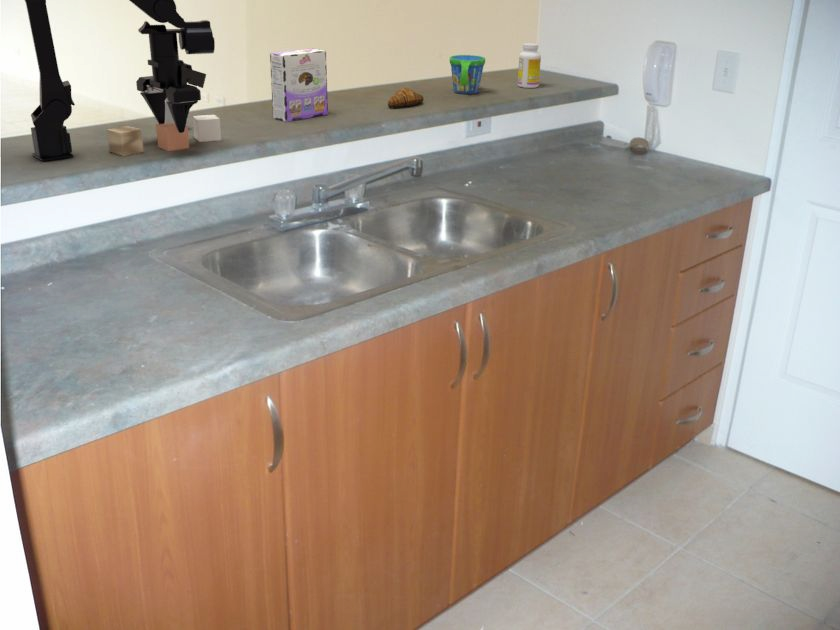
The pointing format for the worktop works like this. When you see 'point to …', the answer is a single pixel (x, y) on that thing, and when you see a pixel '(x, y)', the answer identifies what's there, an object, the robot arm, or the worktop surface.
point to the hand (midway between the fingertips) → (171, 128)
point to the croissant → (405, 98)
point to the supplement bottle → (529, 66)
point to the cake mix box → (299, 84)
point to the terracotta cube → (172, 137)
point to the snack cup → (466, 73)
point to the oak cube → (125, 140)
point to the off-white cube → (207, 128)
